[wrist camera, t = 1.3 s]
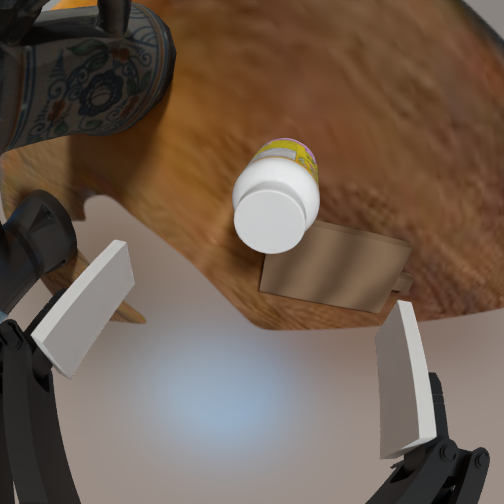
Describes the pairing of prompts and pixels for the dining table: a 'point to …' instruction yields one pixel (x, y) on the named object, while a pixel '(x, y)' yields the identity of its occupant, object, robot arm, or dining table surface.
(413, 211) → the dining table surface
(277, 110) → the dining table surface
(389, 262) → the walnut board
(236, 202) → the supplement bottle
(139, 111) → the beer stein
